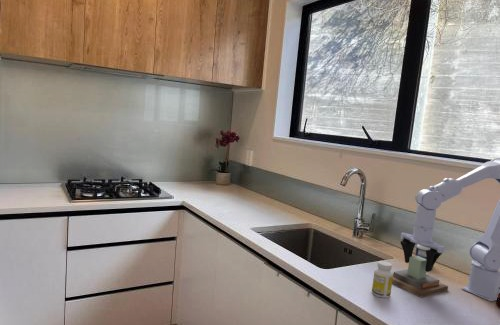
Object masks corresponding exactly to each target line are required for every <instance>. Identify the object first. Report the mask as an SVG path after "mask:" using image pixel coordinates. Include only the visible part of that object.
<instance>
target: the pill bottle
mask: <svg viewBox="0 0 500 325" xmlns="http://www.w3.org/2000/svg"><path fill="white" fill-rule="evenodd" d="M415 248H416V249H415V255H414V256H419V257H422V258H424V259H426V250H430V248H427V247H424V246H421V245H419V244H417V245H416V247H415Z"/></svg>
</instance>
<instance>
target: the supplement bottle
mask: <svg viewBox="0 0 500 325" xmlns="http://www.w3.org/2000/svg"><path fill="white" fill-rule="evenodd" d="M392 268H393V264H392V263H391V262H388V261H384V260H380V261H378V262H377V267H376V268H375V269H374V272H373V279H372V286H371V294H373V295H374V296H376V297H378V298H384V299H389V298H390V297H391V294H392V285H393V283H392V280H393V273H394V271H392Z"/></svg>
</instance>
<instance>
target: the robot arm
mask: <svg viewBox="0 0 500 325" xmlns="http://www.w3.org/2000/svg"><path fill="white" fill-rule="evenodd" d="M485 179H492V180H493V179H494V180H495V181H497V182H498V184H499V185H500V157H497V158H496V157H495V158H493V159H491V160H490V161H489V160H488V161H486V162H484V163H483V164H481V165H479V166H478V167H476V168H474V169H473V170H471V171H469V172H467V173H465V174H464V175H462V176H460V177H458V178H456V179H455V178H452V177H449V178H447V177H445V178H443V179H442V182H439V183H437V184H435V185H430V186H428V187H429V188H427V189H426V188H423V189H420V190H419V191H418V192H417V194H416V195H415V198H414V199H415V202H416V205H417V206H416V212H415V217H414V218H415V219H414V225H413V230H412V231H413V232H412V234H410V233H407V232H401V233H400V241H399V242H400V243H399V244H400V245H401V248H402V250H403V256H404V257H403V258H404V262H405V263H406V264H409V259H410V257H413V253H414V252H413V251H414V250H415V246H416V244H417V245H418V244H419V245H421V246H424V247H427V248H430V250H426V268H425V270H426V273H429V272H432V270H433V268H434V265H435V263H437V260H438V259H439V257H441V256H442V254H443V253H444V252H445V246H444V245H442V244H440V243H437V242H435V241H433V240H432V239H433V233H434V228H435V220H436V213H437V209H439V207H441V205H442V203H444V202H446V201H448V200H450V199H452V198H455V197H457V196H459V195H460V194H461V193H462V191H463V189H464V188H467V187H469V186H472V185H474V184H476V183H479V182H481V181H484V180H485ZM468 251H469V252H468V253H469V256H470V257H471V258H472V259H471V265H470V266H471V267H470V270H469V271H470V272H469V276H468V283H467V285H466V286H462V287H461V290H463V291H466V292H469V293H470V294H472V295H475V296H477V297H480V298H482V299H484V300H487V301H489V302H494V301H497V297H498V294H499V293H500V271H499V270H500V198H499V200H498V202H497V203H496V206H495V209H494V211H493V213H492V215H491V217H490V220H489V222H488V225H487V226H486V229H485V231H484V234H482V235H480V236H478V237H477V238H476V241H475V242H474V243H473V244H472V245H471V246H470V248H469V250H468Z"/></svg>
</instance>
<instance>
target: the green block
mask: <svg viewBox="0 0 500 325" xmlns="http://www.w3.org/2000/svg"><path fill="white" fill-rule="evenodd" d="M407 267H408V268H407V269H408V273H407V275H410V276H412V277H414V278H416V279H421V278H426V274H427V271H426V270H425V268H426V259H424V258H422V257H419V256H415V255H414V256H413V255H412V257H410V259H409V263H408V266H407Z"/></svg>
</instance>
